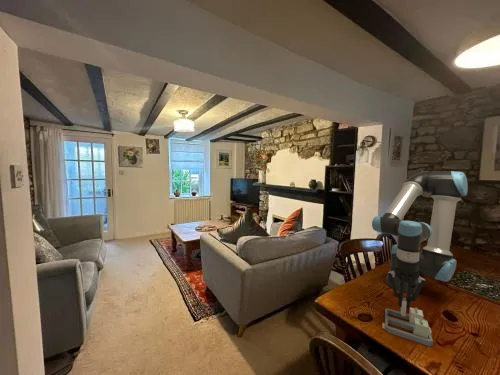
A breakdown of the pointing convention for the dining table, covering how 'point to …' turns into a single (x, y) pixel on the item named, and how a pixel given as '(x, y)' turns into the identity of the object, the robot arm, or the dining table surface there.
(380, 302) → the dining table surface
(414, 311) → the ivory tab
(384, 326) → the switch bank
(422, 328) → the sage tab
